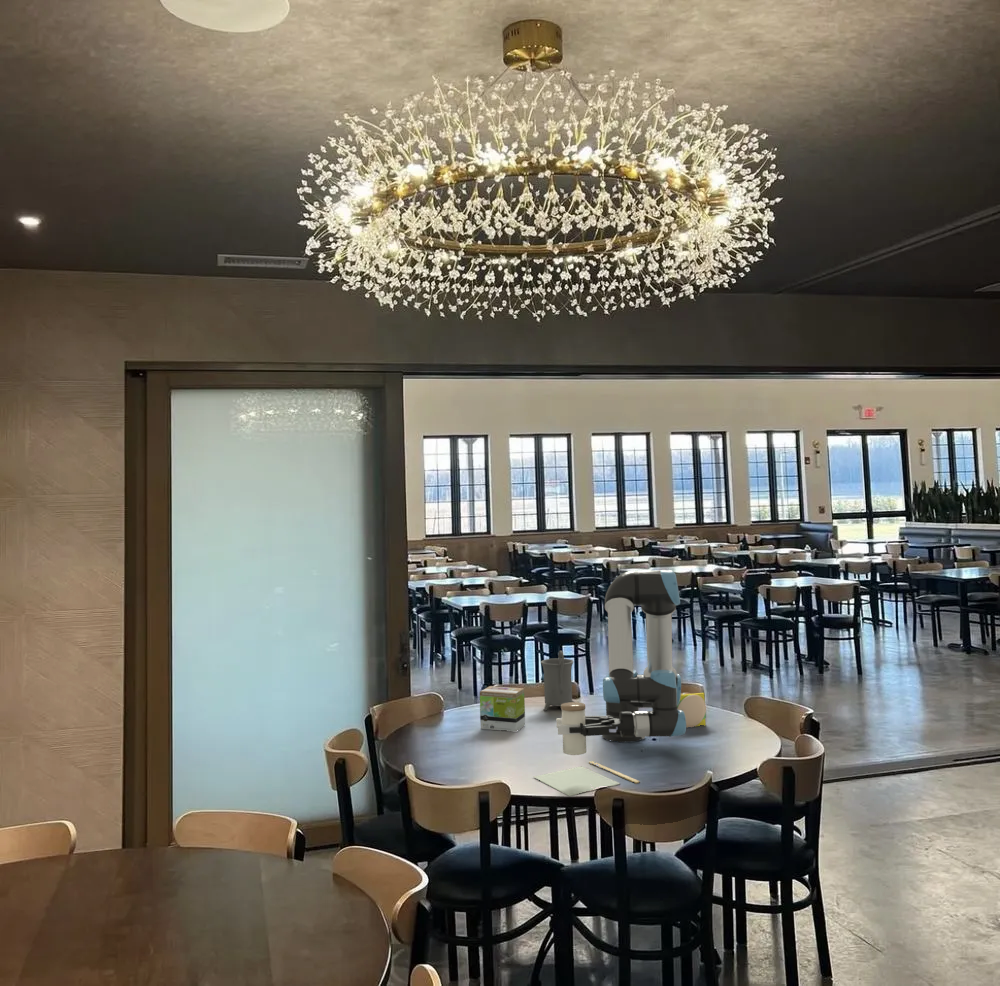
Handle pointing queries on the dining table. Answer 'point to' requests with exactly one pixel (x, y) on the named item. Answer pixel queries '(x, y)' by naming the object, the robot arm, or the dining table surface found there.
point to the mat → (575, 780)
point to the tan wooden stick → (617, 773)
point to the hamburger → (693, 708)
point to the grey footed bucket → (557, 681)
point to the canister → (573, 715)
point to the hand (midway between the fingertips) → (557, 726)
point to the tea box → (502, 708)
